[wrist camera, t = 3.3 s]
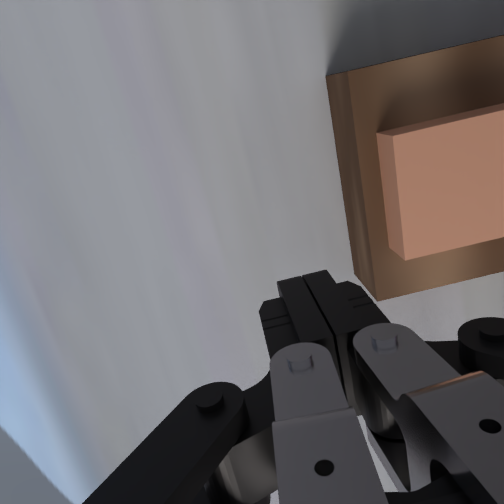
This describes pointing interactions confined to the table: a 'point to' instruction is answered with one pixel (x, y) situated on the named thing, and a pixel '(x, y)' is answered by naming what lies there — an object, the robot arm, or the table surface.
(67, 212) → the table surface
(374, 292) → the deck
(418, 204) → the salmon pink rectangular block
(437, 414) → the robot arm
